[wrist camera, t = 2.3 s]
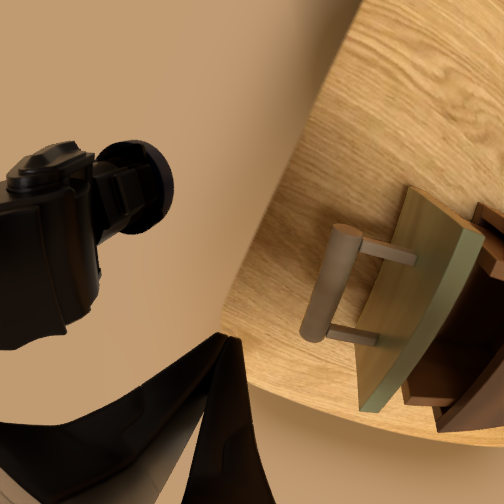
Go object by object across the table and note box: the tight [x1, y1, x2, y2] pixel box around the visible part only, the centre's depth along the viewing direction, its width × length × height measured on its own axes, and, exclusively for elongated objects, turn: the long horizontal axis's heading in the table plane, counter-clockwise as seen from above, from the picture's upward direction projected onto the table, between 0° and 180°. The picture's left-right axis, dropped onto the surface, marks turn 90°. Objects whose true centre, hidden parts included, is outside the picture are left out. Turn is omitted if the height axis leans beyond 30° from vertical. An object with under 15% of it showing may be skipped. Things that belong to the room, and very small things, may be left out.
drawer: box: [299, 186, 504, 413], centre depth 13 cm, size 17×10×7 cm, turn 81°
